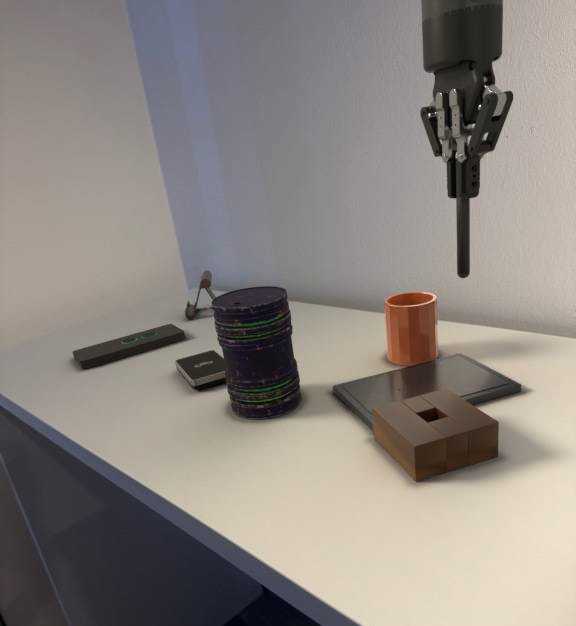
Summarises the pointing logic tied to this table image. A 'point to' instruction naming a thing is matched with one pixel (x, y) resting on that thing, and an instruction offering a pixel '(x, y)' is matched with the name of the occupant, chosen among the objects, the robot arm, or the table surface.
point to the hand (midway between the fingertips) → (462, 197)
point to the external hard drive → (202, 369)
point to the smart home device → (128, 345)
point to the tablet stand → (205, 284)
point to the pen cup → (411, 328)
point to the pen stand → (435, 433)
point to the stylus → (462, 233)
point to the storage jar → (258, 351)
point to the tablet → (425, 384)
